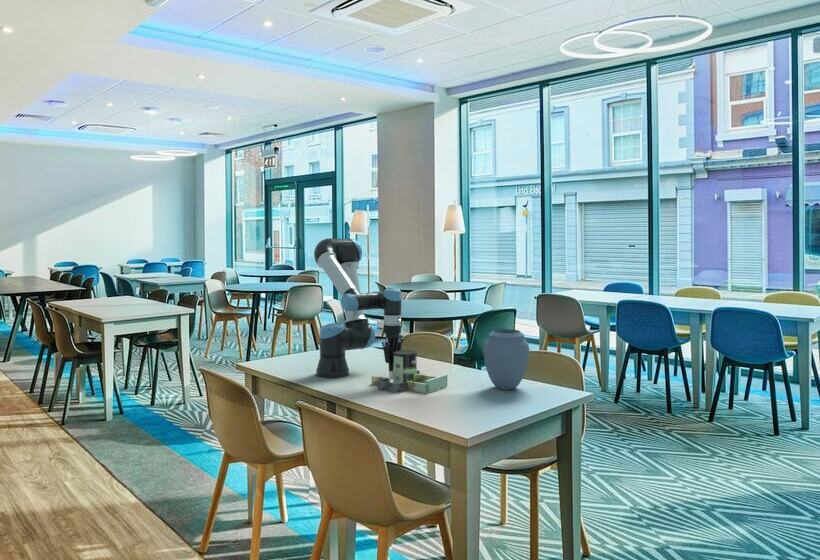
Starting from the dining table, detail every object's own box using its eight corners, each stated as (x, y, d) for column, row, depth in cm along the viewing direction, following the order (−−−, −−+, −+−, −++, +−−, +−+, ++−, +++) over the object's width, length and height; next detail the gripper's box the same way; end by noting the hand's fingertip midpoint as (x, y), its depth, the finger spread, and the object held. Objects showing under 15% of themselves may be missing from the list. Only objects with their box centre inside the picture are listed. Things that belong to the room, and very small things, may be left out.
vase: (524, 395, 265) (525, 335, 264) (477, 391, 272) (478, 332, 270) (532, 385, 284) (533, 329, 282) (488, 381, 290) (489, 326, 289)
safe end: (417, 391, 271) (417, 379, 271) (437, 384, 284) (437, 373, 283) (428, 393, 268) (428, 381, 268) (447, 386, 281) (447, 374, 281)
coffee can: (418, 382, 288) (419, 350, 287) (414, 387, 278) (414, 354, 277) (396, 381, 290) (396, 349, 289) (390, 386, 280) (390, 353, 279)
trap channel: (362, 386, 279) (362, 378, 279) (400, 375, 302) (400, 367, 302) (409, 394, 266) (409, 386, 266) (445, 382, 289) (445, 374, 289)
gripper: (390, 326, 278) (390, 381, 280) (408, 323, 289) (408, 376, 291) (376, 325, 283) (376, 379, 284) (394, 322, 293) (394, 374, 295)
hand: (392, 378), depth 287 cm, fingers closed
